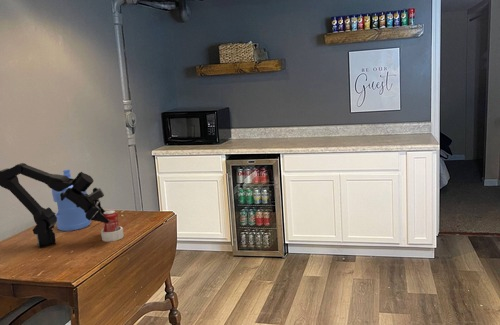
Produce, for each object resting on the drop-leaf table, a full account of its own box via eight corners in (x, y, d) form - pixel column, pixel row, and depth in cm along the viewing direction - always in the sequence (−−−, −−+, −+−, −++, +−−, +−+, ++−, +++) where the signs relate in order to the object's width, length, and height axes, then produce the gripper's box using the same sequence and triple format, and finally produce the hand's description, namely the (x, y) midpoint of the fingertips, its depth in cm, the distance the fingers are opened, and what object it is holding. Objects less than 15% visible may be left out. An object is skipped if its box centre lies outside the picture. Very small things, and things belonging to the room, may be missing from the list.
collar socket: (106, 243, 206) (104, 234, 205) (99, 238, 213) (98, 229, 213) (126, 237, 211) (125, 229, 210) (119, 233, 218) (118, 224, 218)
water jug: (96, 221, 241) (89, 166, 236) (80, 231, 226) (72, 173, 221) (68, 221, 244) (60, 167, 239) (50, 231, 228) (42, 174, 224)
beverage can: (114, 234, 216) (111, 209, 214) (123, 237, 212) (119, 211, 210) (102, 239, 211) (99, 213, 209) (111, 241, 208) (107, 214, 205)
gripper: (90, 188, 197) (121, 210, 202) (91, 179, 215) (119, 200, 220) (72, 209, 196) (103, 230, 201) (75, 199, 214) (103, 219, 219)
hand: (108, 219), depth 210 cm, fingers open, 9 cm apart
